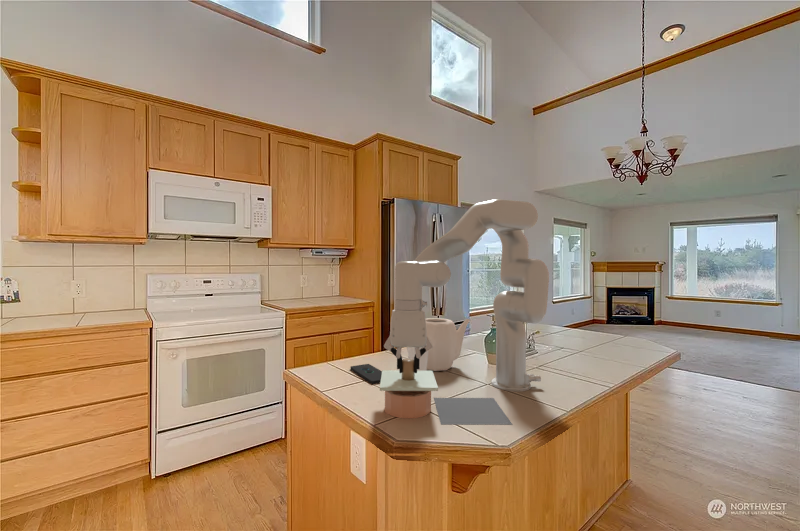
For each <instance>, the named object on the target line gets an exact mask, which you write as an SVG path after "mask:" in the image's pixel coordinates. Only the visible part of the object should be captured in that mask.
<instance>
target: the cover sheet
mask: <svg viewBox="0 0 800 531" xmlns="http://www.w3.org/2000/svg"><path fill="white" fill-rule="evenodd" d="M381 371H382V375H381V382H380V383H379V391H381V392H385V391H431V392H438V391H439V386H438V384H437V381H436V377H435V374H434V371H432V370H427V371H417V373H414V360H413V359H409V358H404V359H403V358H402V373H400V372H399V369H396V370H395V369H394V370H391V369H390V370H381Z"/></svg>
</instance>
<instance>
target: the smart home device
mask: <svg viewBox="0 0 800 531" xmlns="http://www.w3.org/2000/svg"><path fill="white" fill-rule="evenodd" d="M350 371H351V372H353V373H354V374H355V375H357V376H359V377H360V378H362V379H363V380H365V382H368V383H369V384H371V385H377V384H380V382H381V375H382V370H380V369H379V368H377V367H375V366H373V365H372V364H370V363H365V364H358V365H351V366H350Z"/></svg>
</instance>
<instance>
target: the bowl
mask: <svg viewBox="0 0 800 531" xmlns="http://www.w3.org/2000/svg"><path fill="white" fill-rule="evenodd" d="M431 411H432V391H384V413H385V414H387V415H390V416H392V417H395V418H396V417H397V418H399V419H417V418H421V417H425V416H427V415H428V414H430V413H431Z"/></svg>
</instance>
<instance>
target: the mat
mask: <svg viewBox="0 0 800 531" xmlns="http://www.w3.org/2000/svg"><path fill="white" fill-rule="evenodd" d="M433 401H434V405H435V409H436V411H437V416H438V420H439V422H440V425H441V426H442V425H443V426H444V425H446V426H447V425H449V426H450V425H455V426H459V425H460V426H462V425H463V426H465V425H466V426H469V425H470V426H474V425H475V426H485V425H486V426H488V425H492V426H494V425H495V426H497V425H498V426H503V425H504V426H513V423H512V421H511V420H510V419H509V417H508V416H507V415H506V413H505V412H504V410H503V409H502V408H501V406H500V405H499V403H497V401H496V400H495V398H494V397H433Z"/></svg>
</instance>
